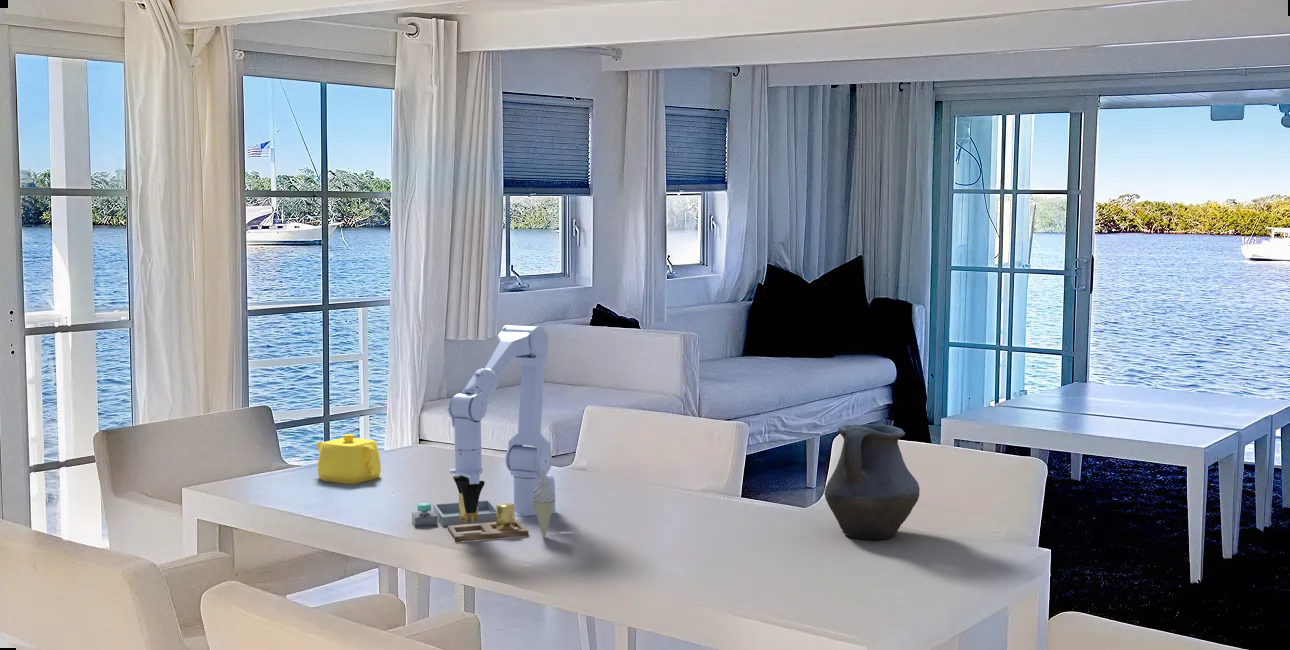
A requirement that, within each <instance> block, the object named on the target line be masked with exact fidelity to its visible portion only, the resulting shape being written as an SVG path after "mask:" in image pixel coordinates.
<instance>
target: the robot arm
mask: <svg viewBox="0 0 1290 650" xmlns="http://www.w3.org/2000/svg"><path fill="white" fill-rule="evenodd" d="M548 347H549V335H548V333H547V332H546V330H545V329H544V327H542V326H540V325H536V326H531V325H529V326H527V325H513V324H506V325H504V326H502V328H501V330H500V331H499V333H498V335H497V346H496V349H495V350H494V351H493V353H492V355H491V357H490V358H489V360H488V362H487V363H486V366H485V368H480V369H477V370H476V371H475V372H474V374H473V376H472V377H471V379H470V380H469V381H468V383H467V384H466V385H465V387H463V390H462V391H461V392H459V393H456V394H455V395H454V396H452V397H451V399H450V400H449V405H448V407H447V412H448V415H449V417H450V419H451V426H452V428H454V432H453V433H454V468H449V473H450V474H452V475H454V474H455V475H454V476H452V479H453V480H454V482H455V485H456V487H457V491H458V494H459V493H460V492H462V495H463V500H464V506H465V511H466V513H476V510H477V506H478V501H480V495H481V492H482V490H483V488H484V486H485V482H486V481H484V480H480V476H481V475H482V473H483V471H484V469H483V467H482V466H483V465H482V463H483V461H482V420H483V419H484V418H485V416H486V414H487V409H488V405H489V403H490V401H489V399H490V398H491V397H492V395H493V394H494V393H495V391H496V389H497V388H498V387H499V383H500V381H499V376H500V375H501V374H502V373H503V372H504V370H505V369H506V368H507V366H509V364H510V363H511V362H512V361H513V359H514V360H517V361H518V363H519V365H521V376H520V377H521V378H520V379H521V380H520V394H519V395H520V396H519V410H518V426H517V427H518V429H517V433H516V434H515V435H514V436H513V437H511V438H510V439H509V441H508V447H507V450H506V453H505V459H504V460H505V461H504V462H505V466H506V468H507V470H508V472H510V476H513V477H512V478H513V504H514V506H515V517H525V516H534V515H535V516H537V514H536V511H535V507H534V504H533V502H532V500H533V499H532V497H533V493H532V492H533V491H534V490H535V488H536V487H537V485H538V480H539V479H540V476H541V474H542V471H543V469H544V471H545V474H546V476H547V478H548V480H549V481H550V483H549V484H550V486H551V487H552V488H553V489H554V491H555V492H556V485H555V484H556V483H555V478H554V475H553V474H552V473H549V471H550V470H551V468H552V464H553V456H552V451H551V442H550V441H549V440H548V439H547V438H546V437H545V436H544V435H543V434H542V433H541V432H542V418H543V417H542V415H543V402H544V401H543V400H544V399H543V398H544V383H545V382H544V380H545V365H546V361H547V360H548V350H549V349H548ZM551 514H557V511H556V501H555V502H554V505H553V509H552V513H551Z"/></svg>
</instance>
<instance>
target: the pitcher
mask: <svg viewBox="0 0 1290 650" xmlns="http://www.w3.org/2000/svg"><path fill="white" fill-rule="evenodd" d="M837 430H838V433H839V435H840V436H842V438H843V443H842V449H841V453H840V455H839V459H838V462H837V464H836V467H835V469H834V471H833V473H832V475H831V476H830V478H829V479H828V481H827V484H826V486H825V488H824V492H823V493H824V497H825V500H826V503H827V505H828V507H829V509H830V510H831V512H832V513H833V515H834V517H835V519H836V521H837V523H838V526H839V527H840V529H841V530H842V533H843V534H845V535H846V536H849V537H852V538H855V539H860V540H866V541H871V542H872V541H873V542H874V541H881V540H889V539H891V538H893V537H894V536H895V535H896V533H897V532H898V530H899V529H900V527H901V526H902V525H903V524H904V522H906V520H907V519H908V517H909V515H910V514H911V513H912V511H913V508H914V507H915V506H916V504H917V502H918V501H919V499H920V485H919V483H918V481H917V479H916V478H915V476H914V475H913V474H912V473H911V472H910V471H909V469H908V467H907V466H906V465H907V464H906V462H905V460H904V457H903V456H902V455H903V454H902V452H901V449H900V447H899V443H898V442H899V440H900V439H901V438H903V437H905V435H906V432H905V431H904V430H903V429H902V428H900V427H897V426H893V425H889V424H877V423H876V424H875V423H874V424H869V423H868V424H867V423H864V424H863V423H862V424H843V425H841V426H839V427H838V429H837Z"/></svg>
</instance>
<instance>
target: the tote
mask: <svg viewBox="0 0 1290 650" xmlns="http://www.w3.org/2000/svg"><path fill="white" fill-rule="evenodd" d="M432 511H434V512H435V513H436V515H437V520H438V522H439V523H440V525H441V527H446V526H447V527H448V526H451V525H463V524H475V523H488V522H496V506H495V504H494V503H492V502H491V500H490V499H485V500H478V520H477V521H475V522H461V521H459V501H457V502H444V503H434V504H432Z"/></svg>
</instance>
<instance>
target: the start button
mask: <svg viewBox="0 0 1290 650" xmlns="http://www.w3.org/2000/svg"><path fill="white" fill-rule="evenodd" d="M417 511H418V512H422V516H423V515H427V511H432V504H431V503H428V502H427V503H426V502H423V503H418V504H417Z"/></svg>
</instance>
